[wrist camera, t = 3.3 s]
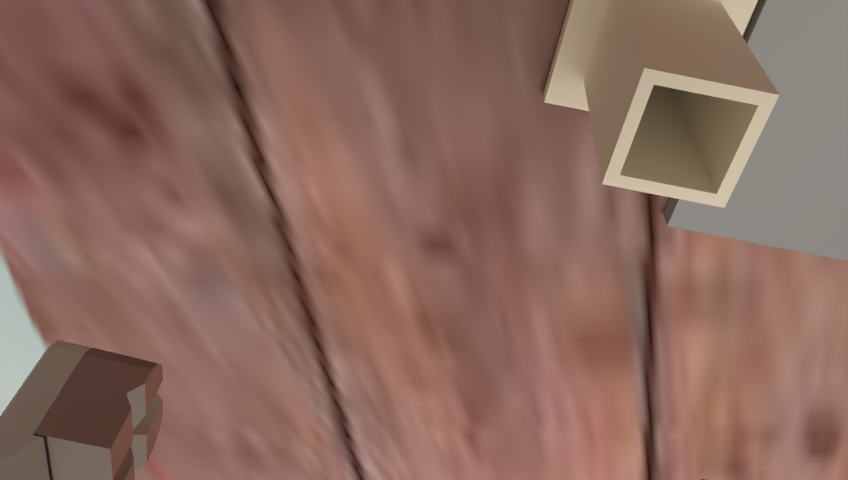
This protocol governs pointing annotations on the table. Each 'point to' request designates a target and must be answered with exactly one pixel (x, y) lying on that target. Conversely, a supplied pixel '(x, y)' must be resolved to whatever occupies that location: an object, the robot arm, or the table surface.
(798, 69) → the post plate
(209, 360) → the table surface
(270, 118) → the table surface
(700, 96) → the collar
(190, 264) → the table surface
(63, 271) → the table surface
